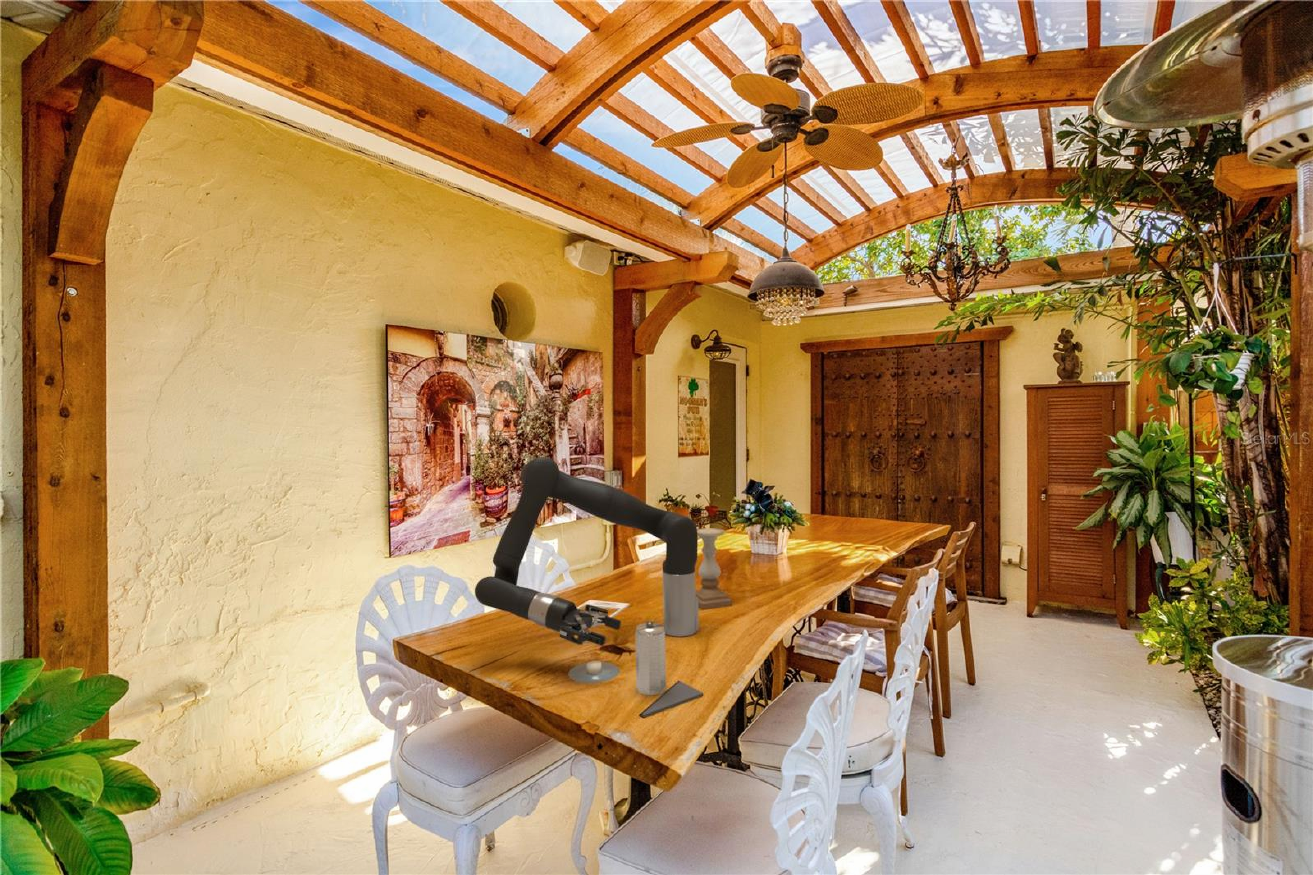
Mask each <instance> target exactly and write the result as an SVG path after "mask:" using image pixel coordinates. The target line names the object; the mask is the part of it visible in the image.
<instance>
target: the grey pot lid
mask: <svg viewBox="0 0 1313 875" xmlns="http://www.w3.org/2000/svg"><path fill="white" fill-rule="evenodd" d="M620 673H621V672H620V668H619V667H618V666H617V665H615V664H613V663H611V662H610V663H609V662H603V661H602V662H601V661H599V660H590V661H588V662H585V663H581V664H578V665H576V666H574V667H572V668H571V669H569V671H568V674H567V675H568V678H570V679H571V680H573V681H575V682H579V683H583V684H597V683H598V684H599V683H603V682H607V681H611V680H612V679H614V678H616V677H617V676H619V674H620Z"/></svg>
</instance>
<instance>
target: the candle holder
mask: <svg viewBox="0 0 1313 875" xmlns="http://www.w3.org/2000/svg"><path fill="white" fill-rule="evenodd" d="M697 534H698V537H700V538H701V540H702V542H703V546H702V548H701V550H700V551H701V552H702V555H703V560H702V562H701V564H700V565H699V568H698V575H699V576H700V577H701V580H700V585H701V587H700V588H699V589H695V593H696V597H698V607H699V609H700V610H709V609H718V608H723V607H724V608H725V607H731V606H732V605H733V600H732V599H731V598H730V595H729V594H728V593H726V592H725V591H724V590H722V589H721V588H719V584H720V580H719V579H718V578H719V576H721V572H722V571H721V570H722V569H721V567H720V565H719V563H718V562H717V560H716V558H715V555H716V552H717V551H718V548H717V547H716V546H715V545H716V544H715V542H716V540H717V539H718V537H720V536H724V535H725V530H724V529H721V528H712V527H711V528H710V527H709V528H707V527H706V528H705V527H704V528H697ZM717 553H718V552H717Z"/></svg>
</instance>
